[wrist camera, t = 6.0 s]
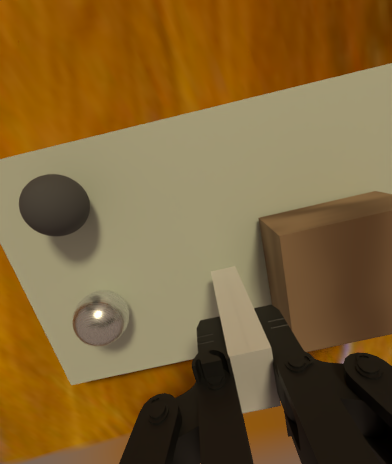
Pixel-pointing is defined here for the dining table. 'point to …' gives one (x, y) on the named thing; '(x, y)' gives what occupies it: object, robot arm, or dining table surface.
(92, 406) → the dining table surface
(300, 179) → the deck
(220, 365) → the robot arm
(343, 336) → the cover
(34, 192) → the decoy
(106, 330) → the ball
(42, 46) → the dining table surface
